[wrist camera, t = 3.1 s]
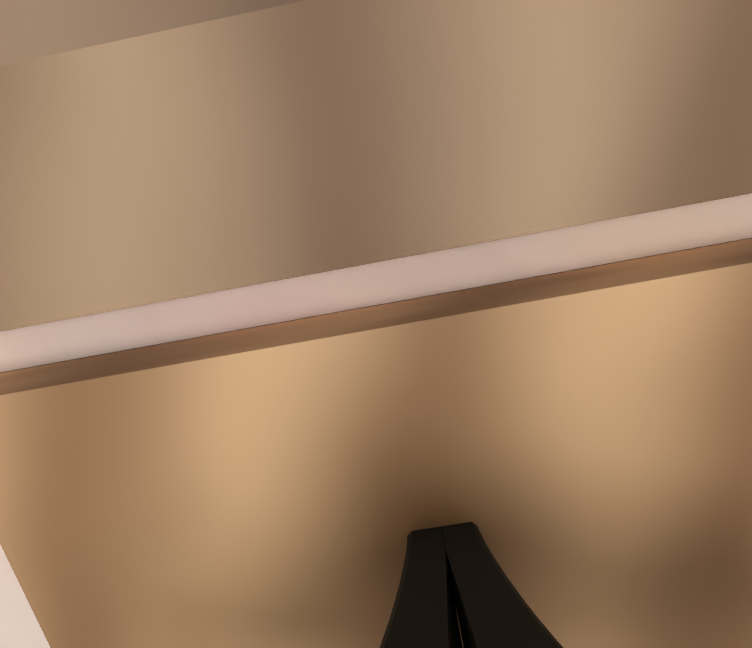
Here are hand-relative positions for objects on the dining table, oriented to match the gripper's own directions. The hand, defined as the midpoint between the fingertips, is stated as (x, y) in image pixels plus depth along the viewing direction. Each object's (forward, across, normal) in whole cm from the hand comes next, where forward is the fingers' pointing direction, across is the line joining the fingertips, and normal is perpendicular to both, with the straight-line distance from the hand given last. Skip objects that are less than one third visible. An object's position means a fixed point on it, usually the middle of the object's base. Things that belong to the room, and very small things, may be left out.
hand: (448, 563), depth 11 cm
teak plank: (+1, 0, 0) cm, 1 cm away
